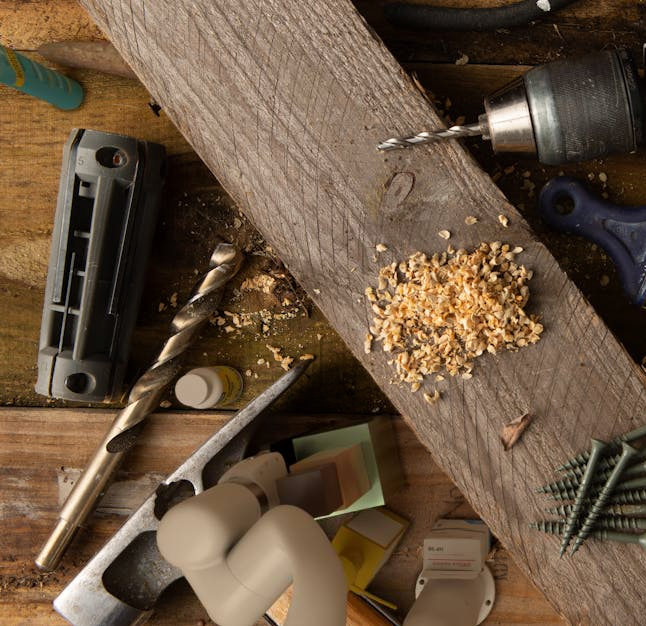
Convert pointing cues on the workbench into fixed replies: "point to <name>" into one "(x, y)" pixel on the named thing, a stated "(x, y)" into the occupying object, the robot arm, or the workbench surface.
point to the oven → (375, 449)
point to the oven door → (284, 448)
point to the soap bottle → (368, 546)
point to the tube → (38, 80)
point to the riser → (343, 470)
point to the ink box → (456, 549)
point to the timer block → (311, 490)
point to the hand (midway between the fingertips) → (289, 479)
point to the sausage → (88, 56)
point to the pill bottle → (209, 387)
